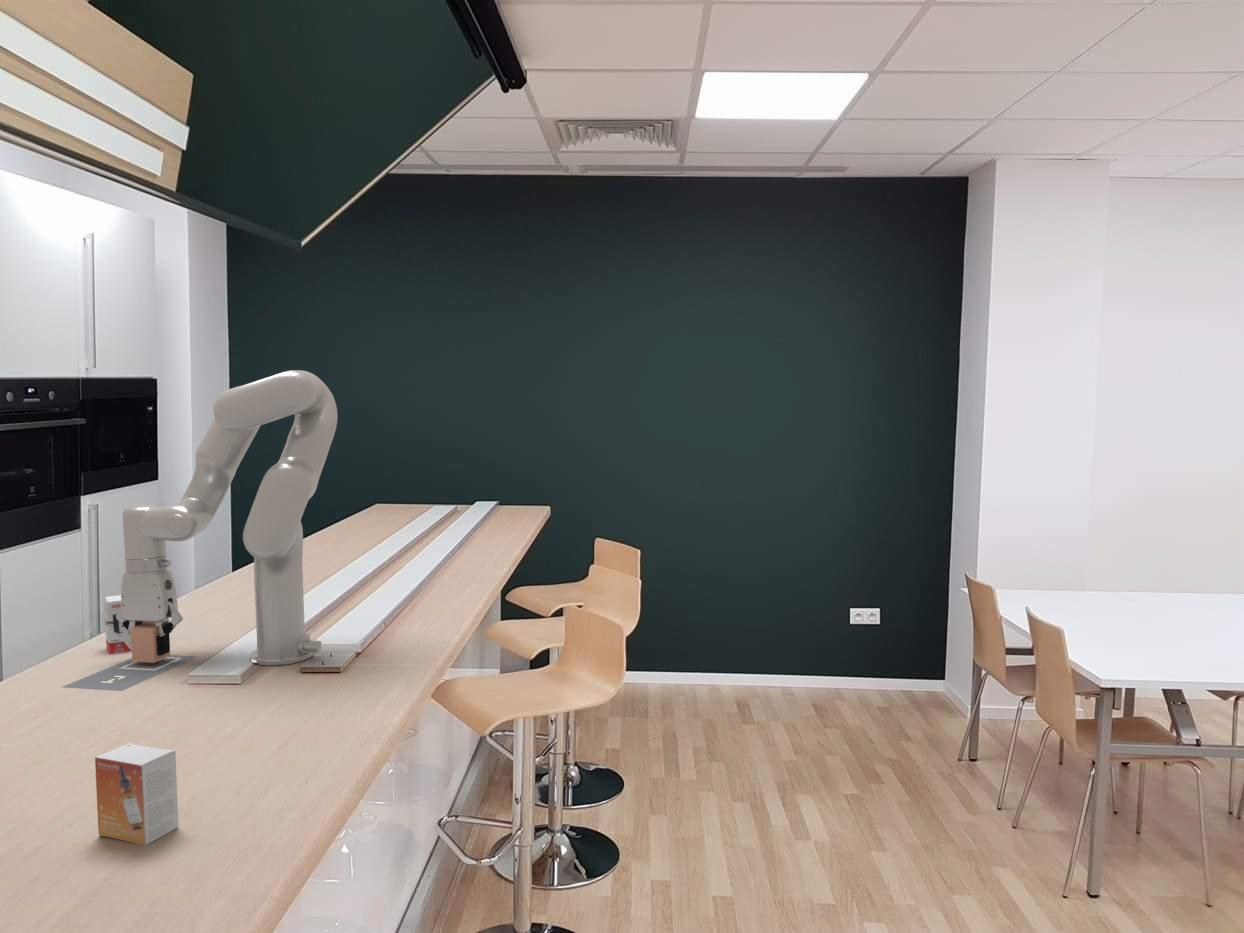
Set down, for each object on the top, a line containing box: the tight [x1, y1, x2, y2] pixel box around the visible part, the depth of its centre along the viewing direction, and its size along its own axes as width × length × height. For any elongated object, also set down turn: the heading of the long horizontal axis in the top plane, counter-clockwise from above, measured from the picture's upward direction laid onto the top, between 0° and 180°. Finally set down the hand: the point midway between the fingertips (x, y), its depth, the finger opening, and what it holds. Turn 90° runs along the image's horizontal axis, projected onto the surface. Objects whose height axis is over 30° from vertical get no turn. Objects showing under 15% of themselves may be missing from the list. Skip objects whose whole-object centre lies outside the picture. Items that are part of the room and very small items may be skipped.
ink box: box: [103, 594, 144, 655], centre depth 213 cm, size 8×5×12 cm, turn 123°
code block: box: [130, 622, 171, 663], centre depth 202 cm, size 5×5×7 cm
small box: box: [94, 742, 179, 847], centre depth 127 cm, size 8×6×10 cm
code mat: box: [62, 654, 198, 692], centre depth 197 cm, size 13×23×1 cm, turn 168°
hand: (151, 652), depth 202 cm, fingers closed on code block, 4 cm apart
